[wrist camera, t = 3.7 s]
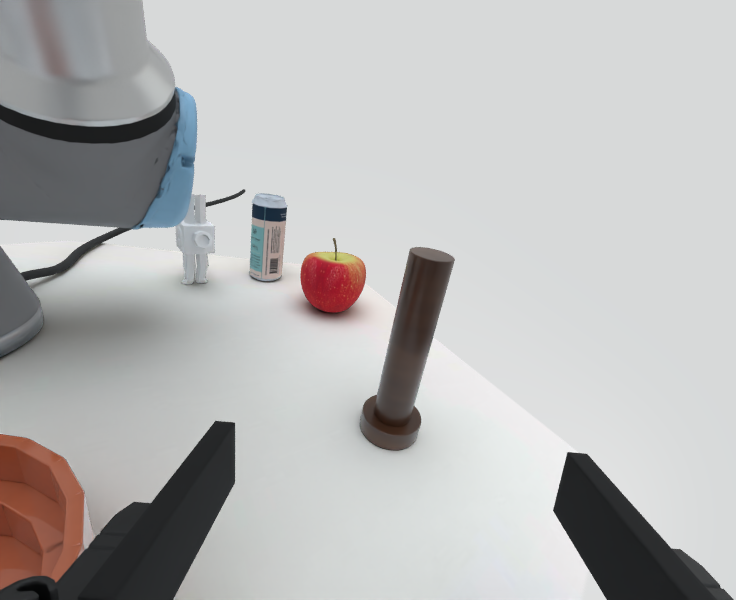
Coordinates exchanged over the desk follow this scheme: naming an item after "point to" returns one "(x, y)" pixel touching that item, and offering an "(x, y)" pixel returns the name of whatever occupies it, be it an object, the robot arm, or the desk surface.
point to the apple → (332, 280)
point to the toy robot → (195, 240)
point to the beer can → (267, 236)
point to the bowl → (39, 512)
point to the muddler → (407, 351)
